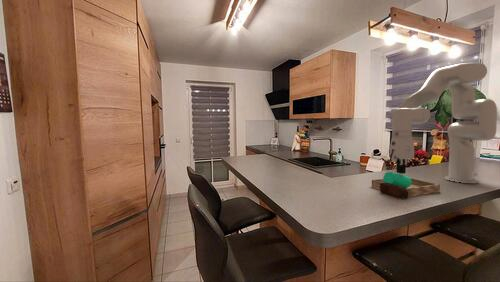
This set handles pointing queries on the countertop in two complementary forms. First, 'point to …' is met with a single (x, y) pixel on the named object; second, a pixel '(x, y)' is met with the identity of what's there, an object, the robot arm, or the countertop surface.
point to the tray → (414, 187)
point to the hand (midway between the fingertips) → (400, 172)
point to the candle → (397, 179)
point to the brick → (394, 190)
